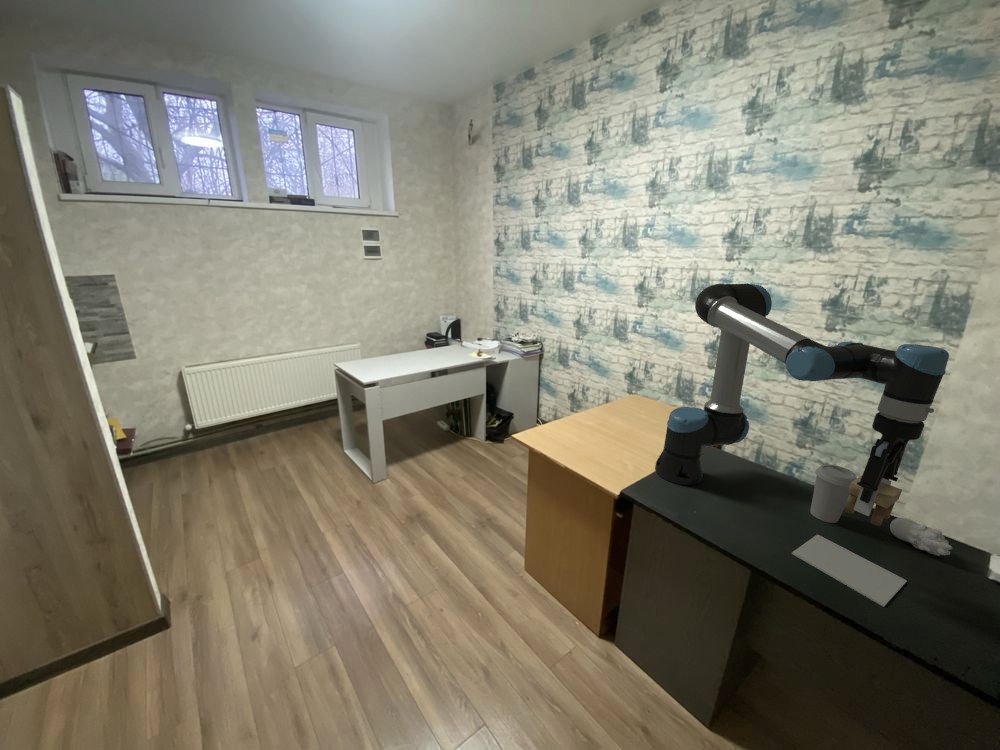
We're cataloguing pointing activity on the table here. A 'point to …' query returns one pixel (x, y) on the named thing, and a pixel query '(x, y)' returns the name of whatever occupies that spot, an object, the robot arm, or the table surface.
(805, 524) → the table surface
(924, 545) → the figurine
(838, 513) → the coffee cup
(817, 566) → the mat
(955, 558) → the table surface
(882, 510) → the wooden stool
